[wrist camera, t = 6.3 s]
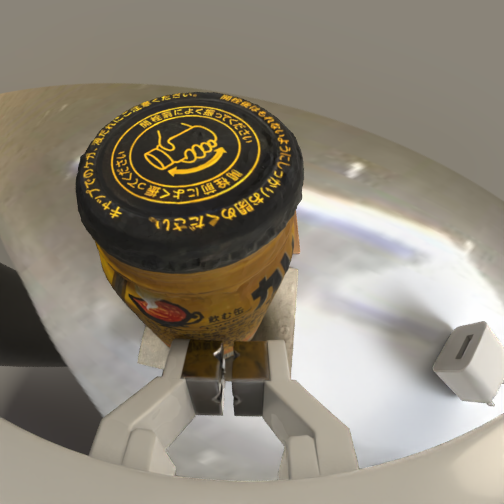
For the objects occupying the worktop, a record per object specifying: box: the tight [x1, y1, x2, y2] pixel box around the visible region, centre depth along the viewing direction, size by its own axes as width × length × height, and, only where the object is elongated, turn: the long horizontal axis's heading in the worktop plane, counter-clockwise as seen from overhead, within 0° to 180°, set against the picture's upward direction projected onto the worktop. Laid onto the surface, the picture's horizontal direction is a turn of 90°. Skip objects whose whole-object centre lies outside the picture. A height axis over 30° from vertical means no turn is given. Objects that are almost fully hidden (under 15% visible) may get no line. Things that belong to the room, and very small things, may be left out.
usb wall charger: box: [432, 321, 504, 406], centre depth 14 cm, size 4×7×4 cm, turn 46°
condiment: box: [76, 92, 304, 381], centre depth 11 cm, size 7×8×12 cm
